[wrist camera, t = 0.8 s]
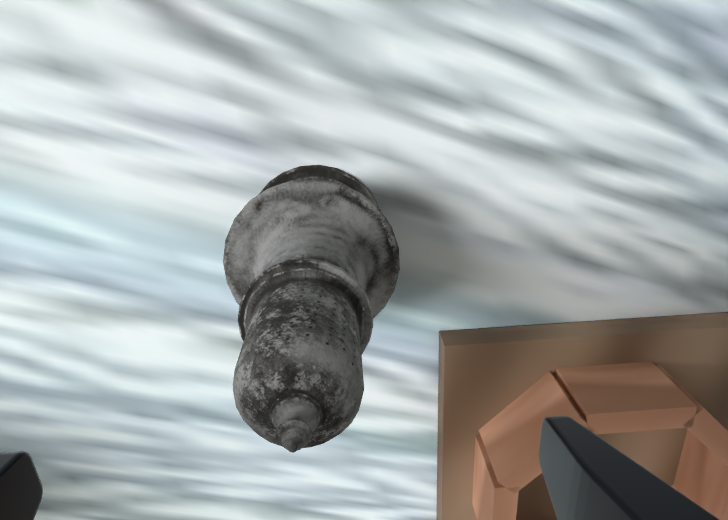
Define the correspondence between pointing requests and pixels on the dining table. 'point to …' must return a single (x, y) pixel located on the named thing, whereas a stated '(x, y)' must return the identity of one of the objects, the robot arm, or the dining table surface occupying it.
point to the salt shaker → (307, 301)
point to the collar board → (581, 408)
